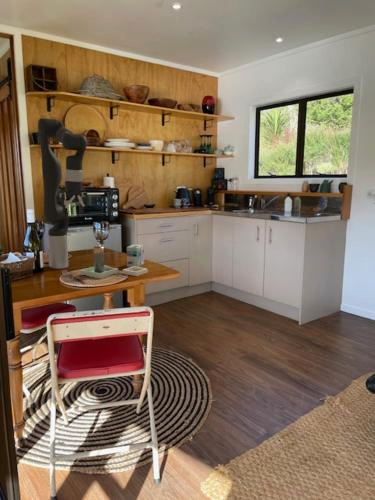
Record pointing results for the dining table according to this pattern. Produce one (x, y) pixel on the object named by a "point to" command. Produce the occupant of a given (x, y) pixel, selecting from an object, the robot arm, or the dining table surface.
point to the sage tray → (91, 273)
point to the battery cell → (98, 259)
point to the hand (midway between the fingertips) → (73, 215)
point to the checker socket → (133, 272)
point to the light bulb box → (135, 255)
